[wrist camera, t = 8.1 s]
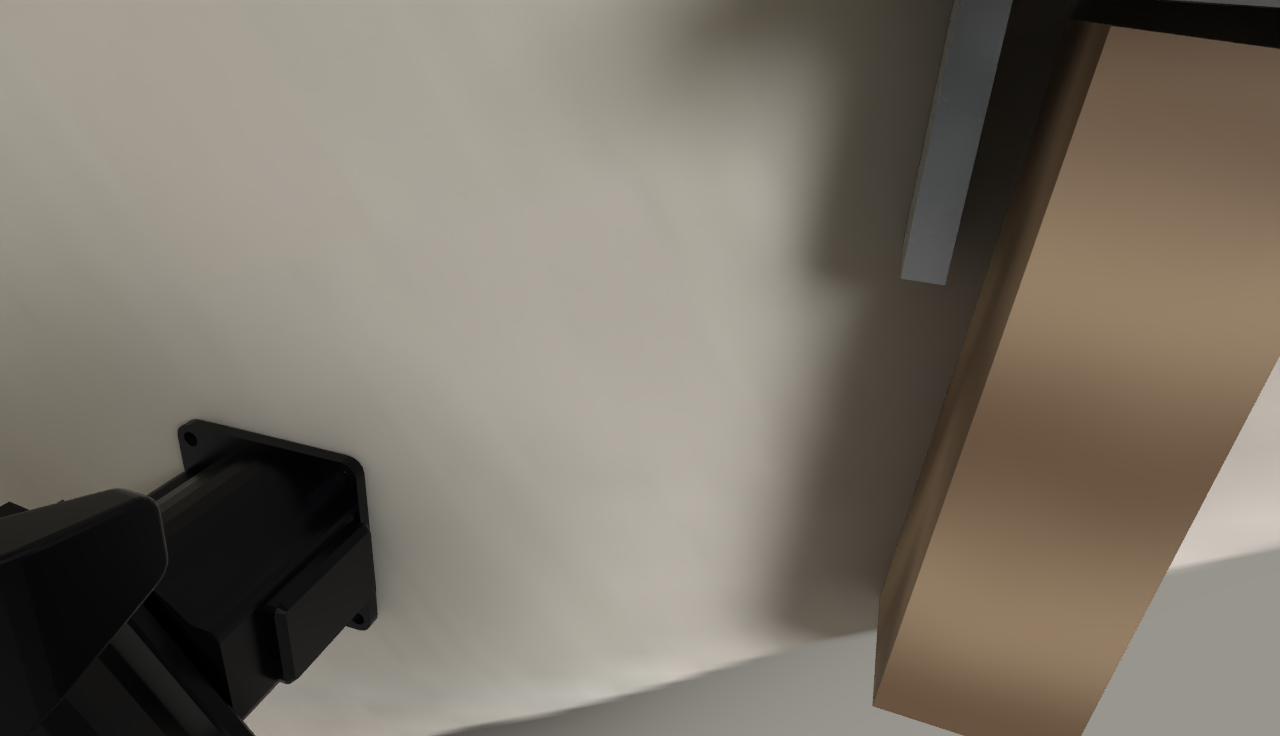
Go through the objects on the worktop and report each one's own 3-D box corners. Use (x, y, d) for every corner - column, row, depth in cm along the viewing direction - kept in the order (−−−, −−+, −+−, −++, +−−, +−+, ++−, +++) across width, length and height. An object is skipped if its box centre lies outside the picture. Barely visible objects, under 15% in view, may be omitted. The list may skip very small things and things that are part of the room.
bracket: (846, 235, 18) (816, 334, 13) (910, -127, 15) (905, -192, 10) (1384, 312, 15) (1619, 474, 10) (1586, -101, 13) (2060, -170, 7)
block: (1039, 637, 21) (1064, 767, 17) (880, 591, 22) (872, 705, 18) (1307, 51, 15) (1429, 69, 11) (1067, 18, 15) (1111, 25, 12)
